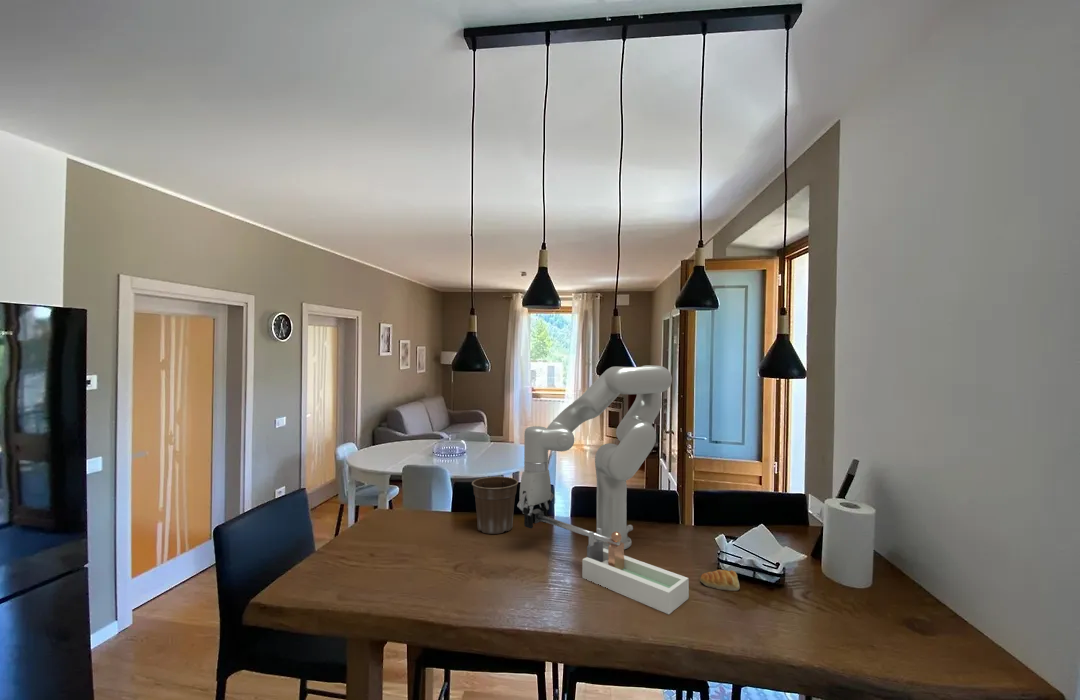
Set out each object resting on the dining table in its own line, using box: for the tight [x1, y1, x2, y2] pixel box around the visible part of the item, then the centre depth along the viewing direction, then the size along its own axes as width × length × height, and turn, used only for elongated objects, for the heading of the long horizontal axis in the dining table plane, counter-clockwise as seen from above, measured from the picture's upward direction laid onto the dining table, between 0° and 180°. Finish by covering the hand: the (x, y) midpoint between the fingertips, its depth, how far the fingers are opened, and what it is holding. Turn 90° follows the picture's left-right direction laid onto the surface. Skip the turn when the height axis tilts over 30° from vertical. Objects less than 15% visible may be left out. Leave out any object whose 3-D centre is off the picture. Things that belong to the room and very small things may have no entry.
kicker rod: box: [531, 508, 625, 570], centre depth 133 cm, size 4×33×10 cm, turn 46°
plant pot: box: [471, 476, 519, 535], centre depth 160 cm, size 16×16×16 cm
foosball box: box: [581, 527, 690, 615], centre depth 119 cm, size 10×26×12 cm, turn 46°
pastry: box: [699, 569, 740, 592], centre depth 120 cm, size 9×7×4 cm
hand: (535, 524), depth 143 cm, fingers open, 5 cm apart
